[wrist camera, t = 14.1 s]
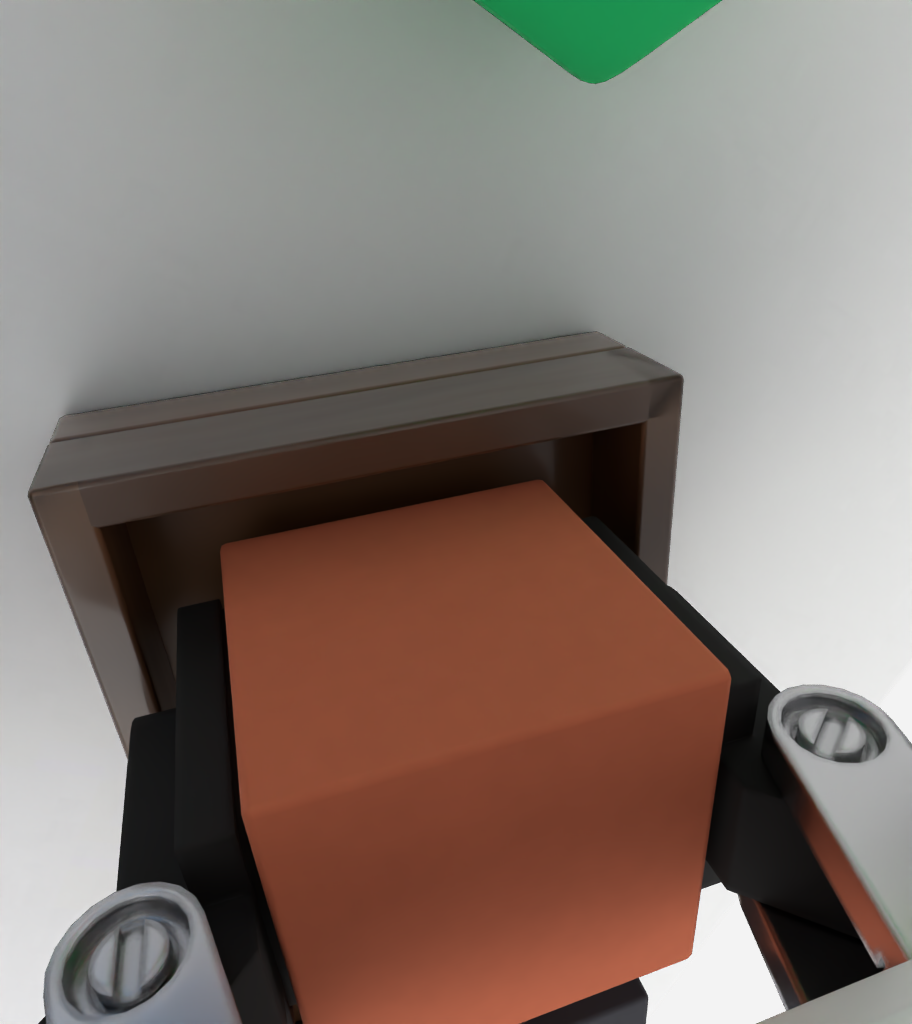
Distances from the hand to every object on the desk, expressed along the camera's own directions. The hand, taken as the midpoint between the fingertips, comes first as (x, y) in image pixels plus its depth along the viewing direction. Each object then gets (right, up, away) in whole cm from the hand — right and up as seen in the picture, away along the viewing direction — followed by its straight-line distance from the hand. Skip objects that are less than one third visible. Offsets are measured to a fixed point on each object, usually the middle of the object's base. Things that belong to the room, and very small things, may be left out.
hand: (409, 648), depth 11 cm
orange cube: (0, 0, 0) cm, 0 cm away
